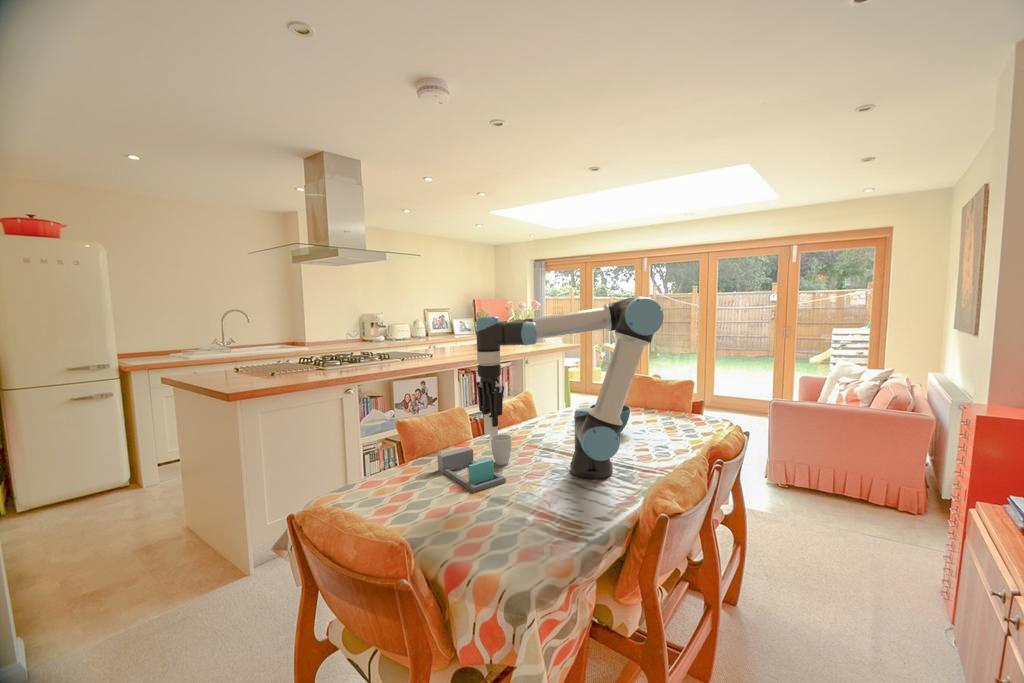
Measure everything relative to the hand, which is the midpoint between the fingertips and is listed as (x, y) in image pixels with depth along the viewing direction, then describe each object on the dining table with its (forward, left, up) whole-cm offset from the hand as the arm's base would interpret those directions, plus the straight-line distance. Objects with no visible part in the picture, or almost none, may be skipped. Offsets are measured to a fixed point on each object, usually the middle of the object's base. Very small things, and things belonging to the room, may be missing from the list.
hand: (491, 434), depth 144 cm
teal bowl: (+16, -76, -19) cm, 80 cm away
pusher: (+9, 0, -18) cm, 20 cm away
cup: (+18, -16, -19) cm, 30 cm away
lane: (+14, 0, -19) cm, 23 cm away
